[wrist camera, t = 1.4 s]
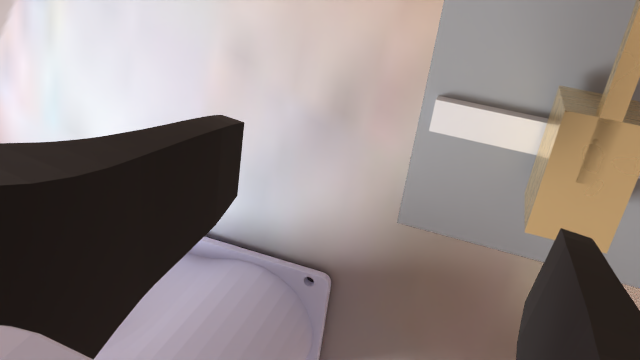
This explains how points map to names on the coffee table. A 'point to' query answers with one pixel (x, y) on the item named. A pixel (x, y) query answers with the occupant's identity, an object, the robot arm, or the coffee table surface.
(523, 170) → the pitch plate
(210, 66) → the coffee table surface
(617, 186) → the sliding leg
